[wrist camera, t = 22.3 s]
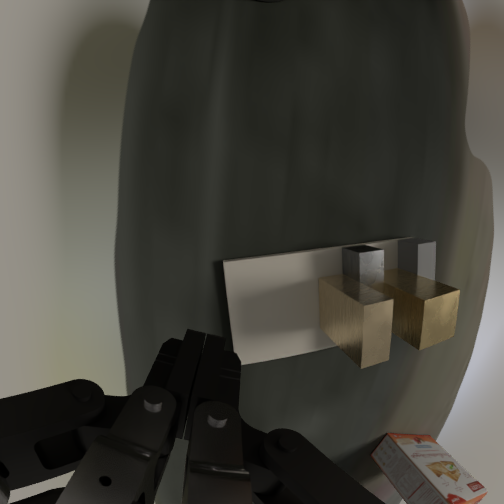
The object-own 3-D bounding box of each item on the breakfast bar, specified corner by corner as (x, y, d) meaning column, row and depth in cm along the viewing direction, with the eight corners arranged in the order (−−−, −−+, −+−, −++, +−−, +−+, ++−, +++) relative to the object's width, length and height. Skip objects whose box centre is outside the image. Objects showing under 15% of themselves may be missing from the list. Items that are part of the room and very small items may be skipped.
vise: (222, 260, 32) (227, 270, 27) (410, 236, 35) (435, 241, 30) (235, 361, 34) (241, 384, 29) (407, 322, 37) (429, 335, 32)
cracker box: (430, 432, 44) (490, 490, 23) (412, 454, 44) (467, 514, 24) (387, 430, 41) (455, 506, 20) (368, 454, 41) (426, 533, 21)
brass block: (364, 274, 34) (424, 300, 23) (397, 267, 34) (459, 289, 24) (364, 313, 35) (419, 350, 24) (396, 305, 35) (453, 336, 25)
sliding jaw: (317, 250, 32) (364, 269, 22) (364, 244, 33) (420, 259, 23) (320, 350, 34) (358, 395, 24) (363, 339, 35) (409, 376, 25)
